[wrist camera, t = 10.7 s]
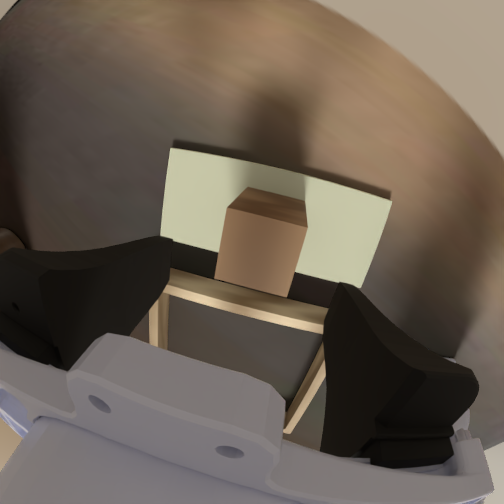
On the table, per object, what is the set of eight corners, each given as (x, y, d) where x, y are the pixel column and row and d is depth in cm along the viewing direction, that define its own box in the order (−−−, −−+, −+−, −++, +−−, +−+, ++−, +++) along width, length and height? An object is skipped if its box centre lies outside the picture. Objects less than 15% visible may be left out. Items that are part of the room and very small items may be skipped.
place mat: (390, 200, 18) (392, 201, 18) (359, 284, 21) (360, 288, 21) (173, 147, 19) (170, 148, 19) (162, 235, 22) (160, 237, 22)
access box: (345, 312, 22) (349, 330, 20) (291, 416, 29) (290, 433, 26) (162, 265, 23) (149, 279, 21) (160, 381, 30) (152, 396, 27)
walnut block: (305, 201, 19) (307, 227, 14) (290, 253, 21) (286, 297, 15) (247, 186, 19) (227, 207, 14) (236, 239, 21) (214, 278, 15)
